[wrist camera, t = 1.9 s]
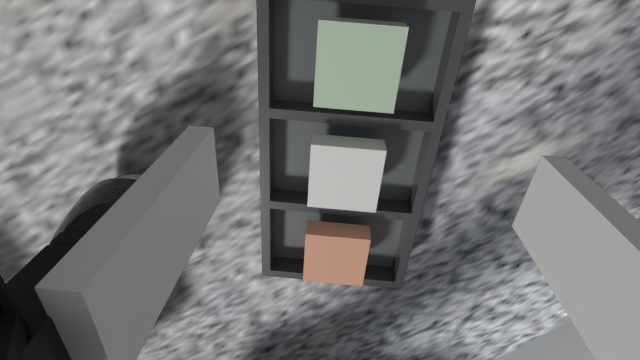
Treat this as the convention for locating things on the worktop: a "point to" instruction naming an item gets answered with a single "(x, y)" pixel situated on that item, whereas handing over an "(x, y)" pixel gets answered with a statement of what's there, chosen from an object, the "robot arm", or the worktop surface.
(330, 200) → the key grey
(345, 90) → the key sage
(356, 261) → the key terracotta
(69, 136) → the worktop surface
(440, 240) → the worktop surface
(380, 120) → the grey compartment tray
